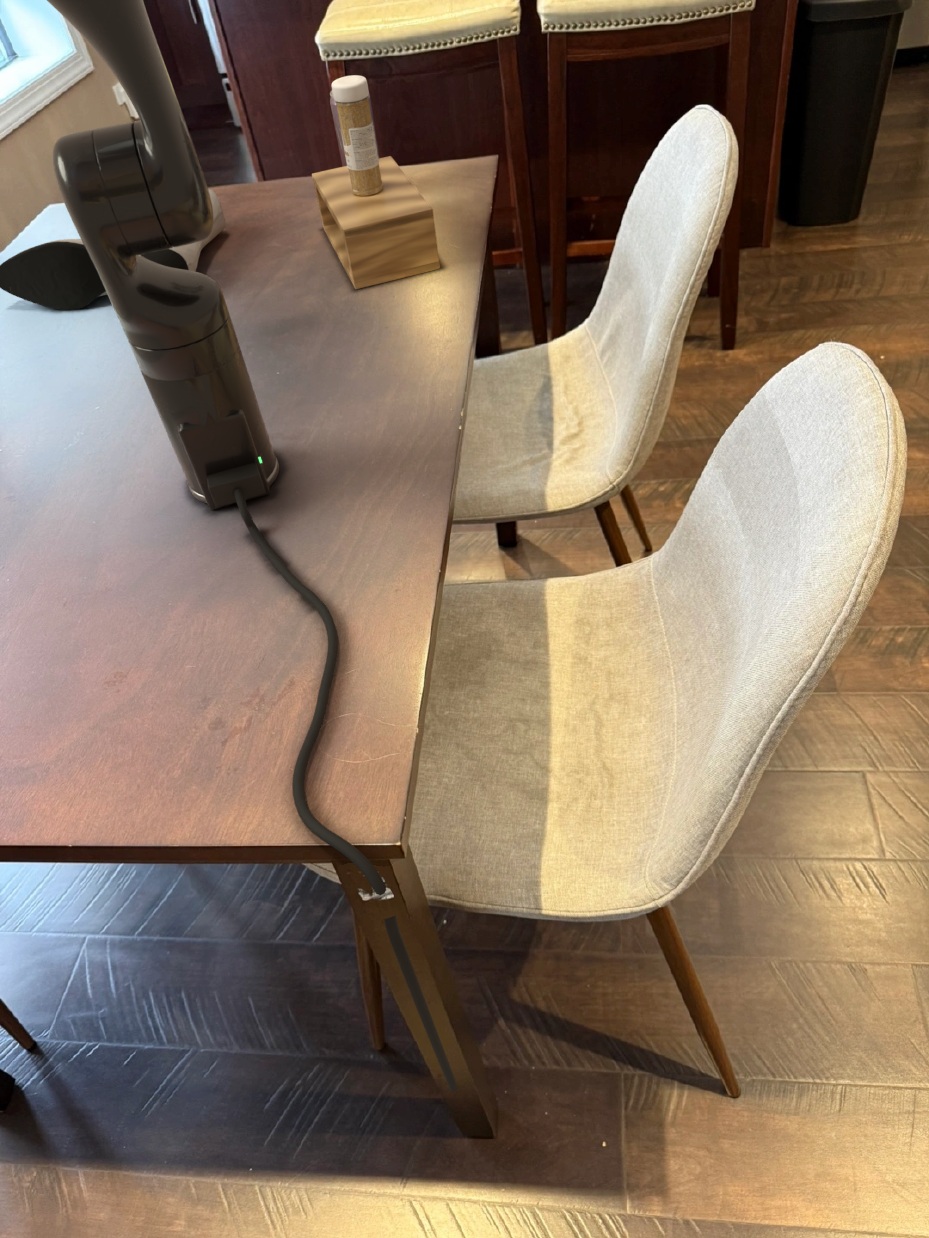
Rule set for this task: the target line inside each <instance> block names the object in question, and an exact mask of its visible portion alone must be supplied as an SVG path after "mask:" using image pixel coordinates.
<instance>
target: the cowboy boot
mask: <svg viewBox="0 0 929 1238" xmlns="http://www.w3.org/2000/svg"><path fill="white" fill-rule="evenodd" d="M208 190H209V194H210V198H211V203H212V208H213V228H212V232H211V234H210V235H209V236H208V237H207V238H206V239H204V240H202V241H199V242H196V243H192V244H188V245H184V246H180V247H175V248H174V247H173V248H170V249H165V250H161V251H156V252H151V253H146V254H141V256H142V257H144V258H146V259H148V260H150V261H152V262H155V263H157V264H160V265H164V266H167V267H172V268H177V269H183V270H190V271H195V272H197V268H198V263H199V259H200V255H201V251H202V250H203V249H204V248H205V247H206V245H208V244H209V243H210V242H211V241H213V240H214V239H215V238H216V237H217V236H218V235H219V234H220V233H221V232H222V231H223V230H225V228H226V225H227V222H226V221H227V220H226V217H225V214H224V210H223V207H222V204H221V201H220V199H219V197H218V195H217V193H215V192H214V190H212V189H211V188H208ZM0 289H1V290H3V291H4V292H6V293H8V294H10V295H12V296H14V297H17V298H19V299H22V300H24V301H27V302H30V303H33V304H36V305H39V306H42V307H45V308H50V309H55V310H59V311H76V310H80V309H84V308H85V307H87V306H88V305H90V304H91V303H92V302H93V301H95V300H96V299H97V298H99V297H102V296H108V294H107V292H106V290H105V287H104V285H103V283H102V281H101V279H100V277H99V274H98V272H97V270H96V268H95V266H94V264H93V262H92V260H91V258H90V256H89V254H88V252H87V250H86V248H85V246H84V244H83V242H82V240H81V238H64V239H57V240H51V241H48V242H45V243H41V244H38V245H35V246H32V247H29V248H27V249H25V250H23V251H20V252H18V253H17V254H15V255H13V256H11V257H9V258H7V259H6V260H5V261H3V262H2V263H1V264H0Z"/></svg>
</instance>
